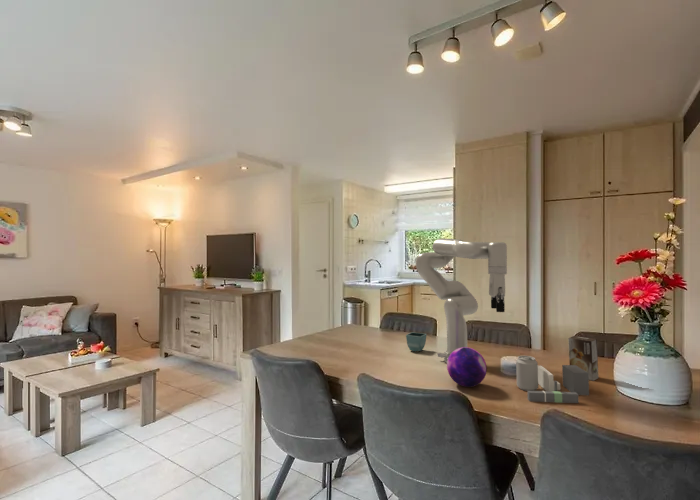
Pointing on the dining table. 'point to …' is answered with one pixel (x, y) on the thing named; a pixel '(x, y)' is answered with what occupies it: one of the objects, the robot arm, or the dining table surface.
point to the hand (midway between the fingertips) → (497, 310)
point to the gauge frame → (572, 380)
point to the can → (527, 373)
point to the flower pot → (416, 341)
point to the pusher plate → (547, 380)
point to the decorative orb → (466, 367)
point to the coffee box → (584, 355)
